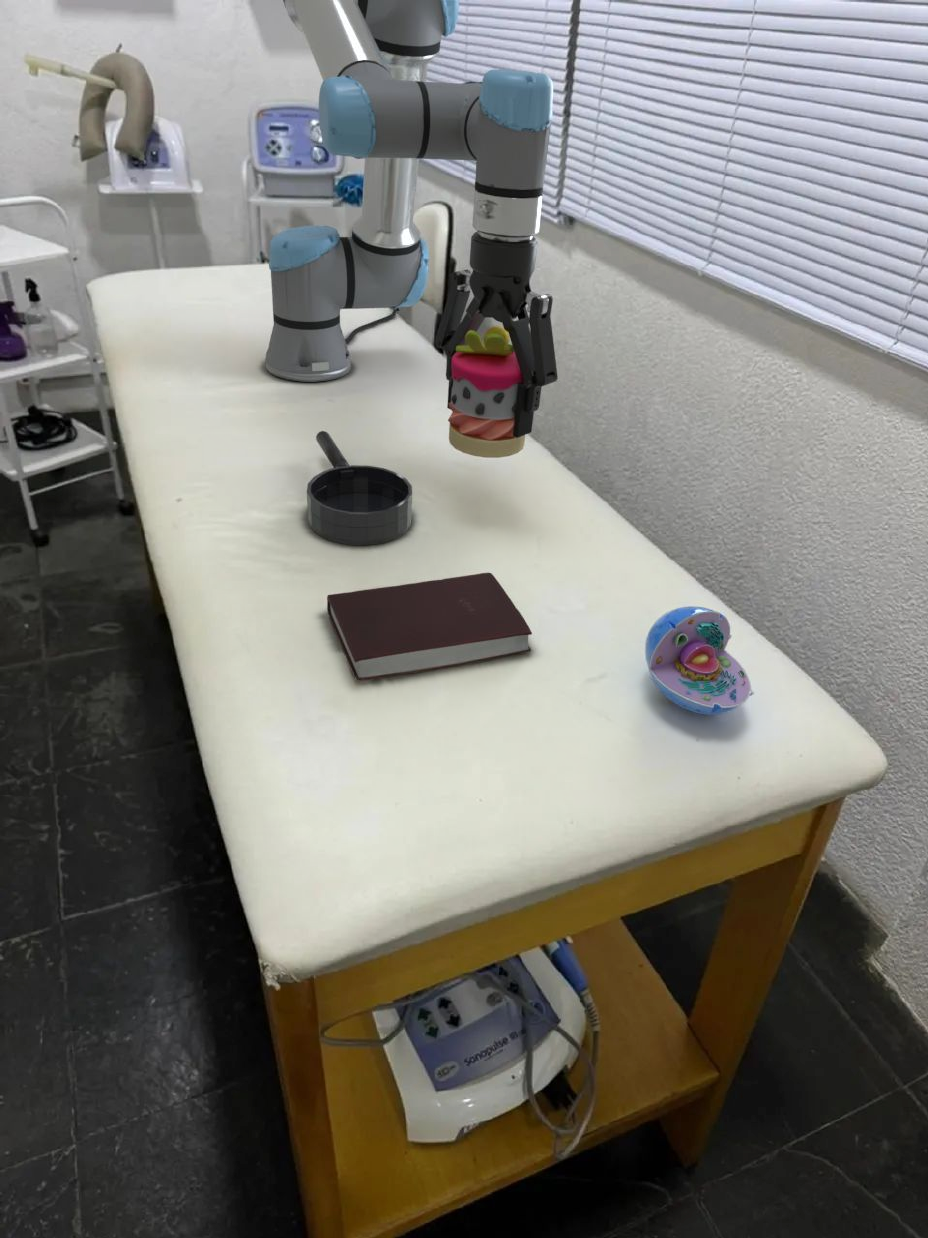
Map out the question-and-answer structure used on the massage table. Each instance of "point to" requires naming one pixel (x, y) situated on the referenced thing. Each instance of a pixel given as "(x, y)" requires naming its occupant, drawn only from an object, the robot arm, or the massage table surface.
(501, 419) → the cake
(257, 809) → the massage table surface
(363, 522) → the pan
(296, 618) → the massage table surface
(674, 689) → the cell model
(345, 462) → the pan handle
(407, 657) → the book
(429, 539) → the massage table surface
